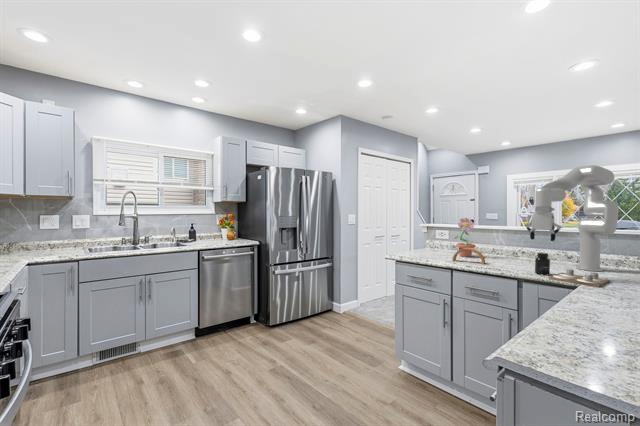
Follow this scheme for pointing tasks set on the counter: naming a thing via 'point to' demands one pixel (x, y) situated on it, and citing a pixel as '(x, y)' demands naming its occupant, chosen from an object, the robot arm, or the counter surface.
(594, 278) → the board
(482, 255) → the arch
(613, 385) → the counter surface
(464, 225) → the decorative flower
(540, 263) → the supplement bottle
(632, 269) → the counter surface
